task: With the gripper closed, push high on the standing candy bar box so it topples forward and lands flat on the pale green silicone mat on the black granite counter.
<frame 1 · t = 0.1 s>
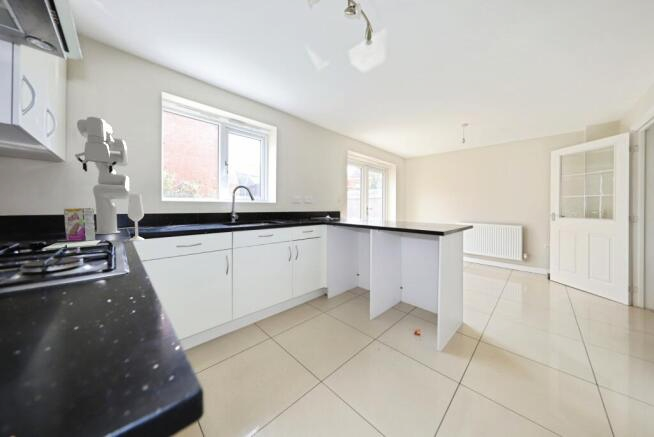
hand: (98, 172, 129), 37 cm above the worktop, tool pointing down, fingers open, 9 cm apart
candy bar box: (81, 241, 117), on the worktop, touching mat
mat: (74, 244, 107), on the worktop
champagne flute: (136, 240, 124), on the worktop
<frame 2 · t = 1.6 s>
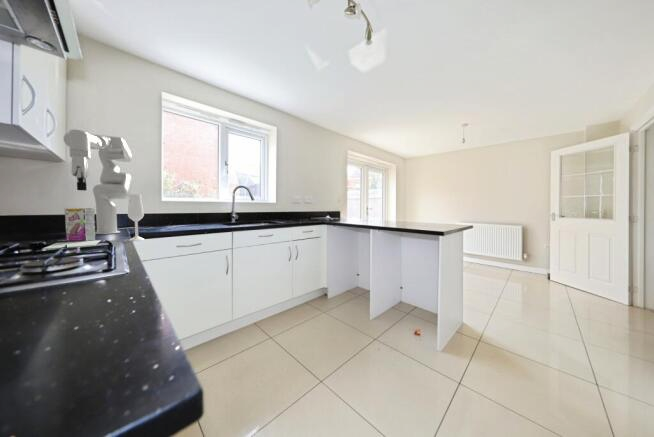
hand: (81, 190, 122), 26 cm above the worktop, tool pointing down, fingers closed
nothing on the worktop moved.
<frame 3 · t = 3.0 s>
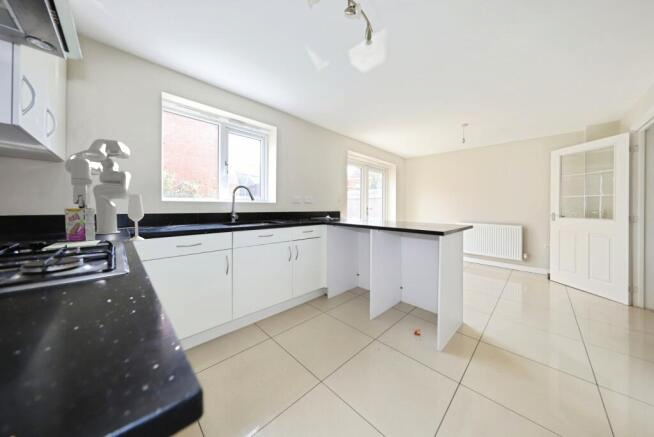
hand: (83, 217, 123), 12 cm above the worktop, tool pointing down, fingers closed
nothing on the worktop moved.
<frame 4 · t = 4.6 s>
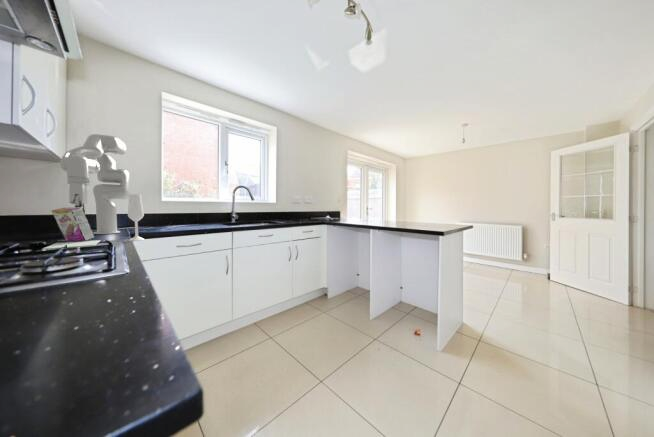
hand: (80, 217, 117), 12 cm above the worktop, tool pointing down, fingers closed
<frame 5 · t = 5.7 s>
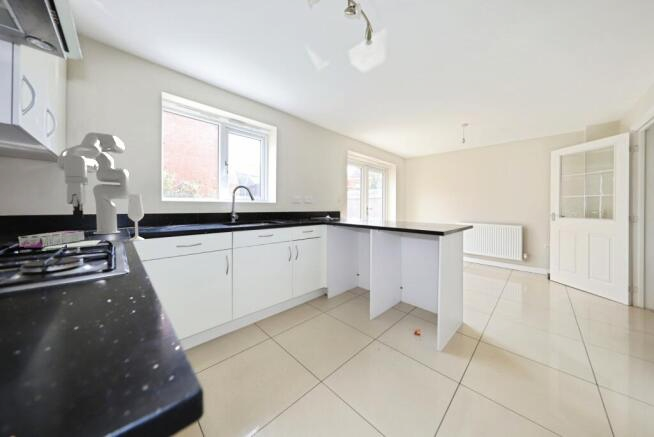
hand: (78, 218, 114), 12 cm above the worktop, tool pointing down, fingers closed
candy bar box: (75, 235, 115), point 3 cm above the worktop, touching mat
everything else where it was.
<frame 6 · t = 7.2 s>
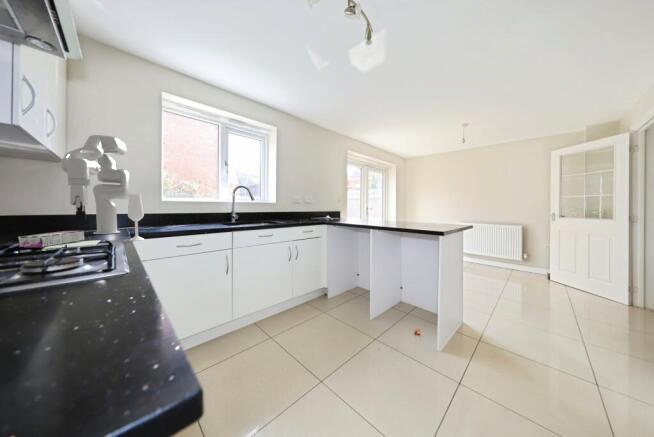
hand: (81, 219, 118), 11 cm above the worktop, tool pointing down, fingers closed
nothing on the worktop moved.
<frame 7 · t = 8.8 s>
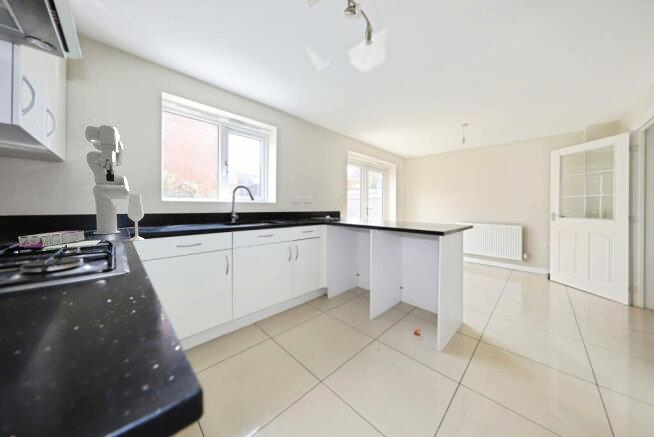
hand: (110, 181, 133), 32 cm above the worktop, tool pointing down, fingers closed
nothing on the worktop moved.
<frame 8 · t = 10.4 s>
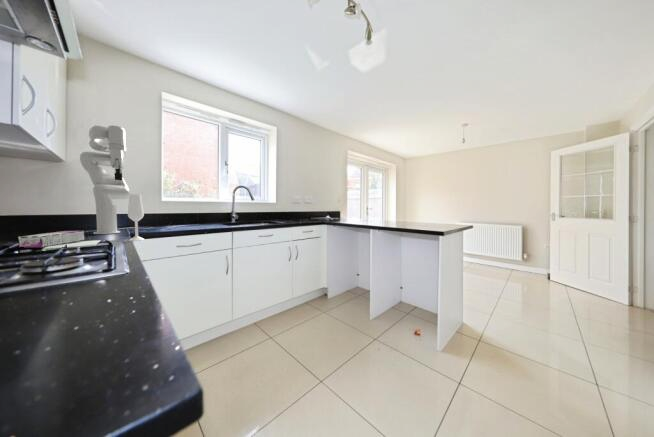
hand: (118, 179, 136), 33 cm above the worktop, tool pointing down, fingers closed
nothing on the worktop moved.
at the end: candy bar box tilted 92°; candy bar box inside the target area (9.8 cm from its centre), point 3.2 cm above the worktop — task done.
